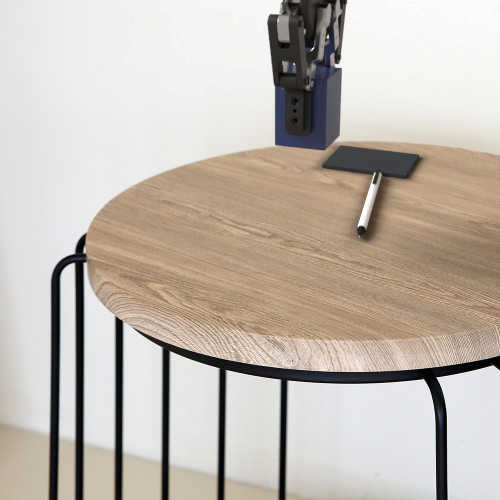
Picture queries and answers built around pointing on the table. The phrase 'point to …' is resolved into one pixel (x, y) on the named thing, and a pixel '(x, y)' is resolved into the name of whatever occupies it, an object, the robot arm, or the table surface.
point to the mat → (371, 161)
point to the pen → (369, 203)
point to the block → (314, 112)
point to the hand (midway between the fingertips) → (308, 125)
